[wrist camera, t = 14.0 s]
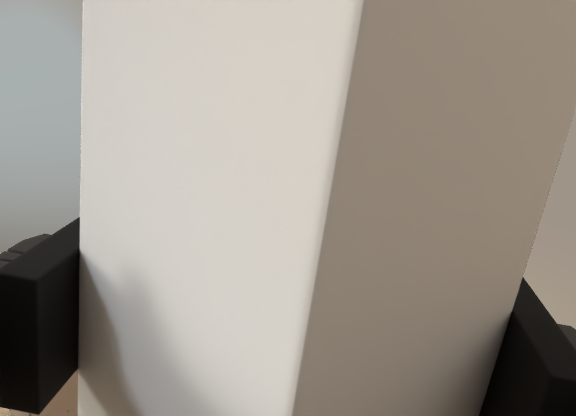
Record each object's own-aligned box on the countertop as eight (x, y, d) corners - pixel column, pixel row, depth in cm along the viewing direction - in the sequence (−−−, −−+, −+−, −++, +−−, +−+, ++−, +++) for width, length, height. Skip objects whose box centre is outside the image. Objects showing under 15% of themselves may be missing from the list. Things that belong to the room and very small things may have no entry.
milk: (378, 739, 14) (703, -238, 7) (188, 993, 10) (512, -725, 3) (241, 564, 18) (362, -171, 11) (66, 694, 14) (82, -340, 7)
